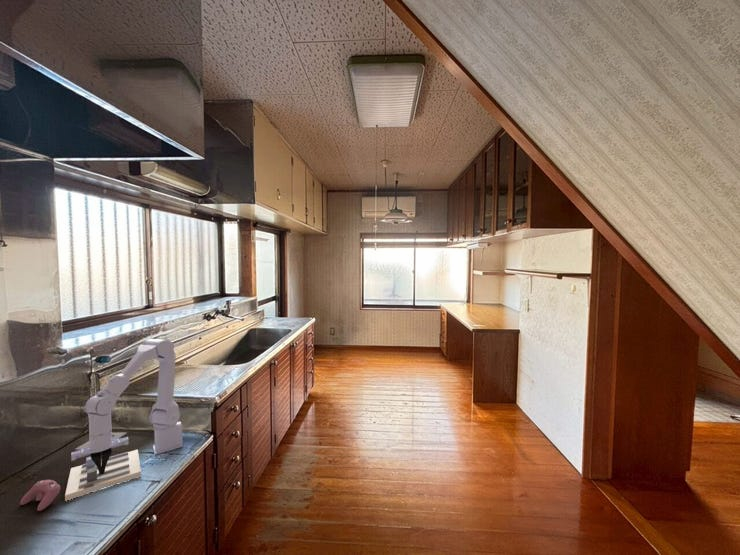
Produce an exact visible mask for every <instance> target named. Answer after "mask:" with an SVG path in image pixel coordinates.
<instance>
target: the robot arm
mask: <svg viewBox="0 0 740 555" xmlns="http://www.w3.org/2000/svg"><path fill="white" fill-rule="evenodd" d="M151 360H156V361H158V364H159V365H158V380H157V394H156V396H157V398H156V402H155V403H154V404H152V407H151V411H150V414H149V418H148V419H149V422H150V423H151V424H152V427H153V428H154V430H153V432H154V444H153V446H152V449H153V453H154V455H160V454H163V453H165V452H169V451H172V450H177V449H179V448H182V447H184V445H183V444H184V443H183V439H184V437H183V425H182V422H181V421H179V420H180V417H181V413H180V409H179V404H178V403H177V402H176V401H175V400H174V395H175V394H174V392H175V377H176V376H175V371H176V352H175V344H174V342H172V341H171V340H170V339H166V338H165V339H159V338H158V339H157V338H147V339H146V338H145V339H144V340H143V341H142V343H140V345H139V346H138V347H137V351H136V353H135V354H134V355H133V357H131V359H130V360H129V362H128V363H127V364H126V365H125V367H124V368H123V370H122V371H120V373H119V374H115V375H113V376H110V378H109V379H108V381H107V383H106V384H105V385H103V387H102V388H101V389H100V390H99V391H97V393H96V395H93V396H91V397H90V398H89V399H88V400H87V401H86V403H85V405H84V406H83V410H84V412H85V413H86V414H87V416H88V417H87V418H88V430H89V431H88V436H89V438H88V439H89V440H88V441H90V446H88V447H86V448H83V449H81V450H78V451H76V450H74V451H72V452H71V453H70V455H71V459H70V460H71V462H72V461H73V462H74V461H76V460H77V459H80V458H84V457H87V456H90V457H91V459H92V461H93V462H94V463H95V464H96V466H97V468H98V471H99V475H101V474H104V473H105V467H106V464H107V461H108V459H109V457H111V455H112V453H113V452H112V449H115V448H118V447H121V446H128V445H129V442H130V441H129V436H124V437H121V438H120V439H114V440H112V433H113V432H112V431H113V430H112V429H113V428H112V411H113V410H114V409H115V408H116V405H117V401H118V399H119V397H120V395H121V394H122V393H123V392H124V391H125V390H126V389H127V388H128V387H129V385H130V379H131V378H132V377H133V375H134V374H135V373H136V372H137V371H138V370H139V369H141V367H142V366H143V365H144V364H145V363H146V362H147V361H148V362H149V361H151ZM101 459H102V466H101Z"/></svg>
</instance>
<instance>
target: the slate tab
mask: <svg viewBox="0 0 740 555" xmlns="http://www.w3.org/2000/svg"><path fill="white" fill-rule="evenodd" d="M85 464H86V469H88V468H92V467H95V466H96V464H95V463H94V462H93V461H92V459H91V456H88V457H87V456H86V460H85Z"/></svg>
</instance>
